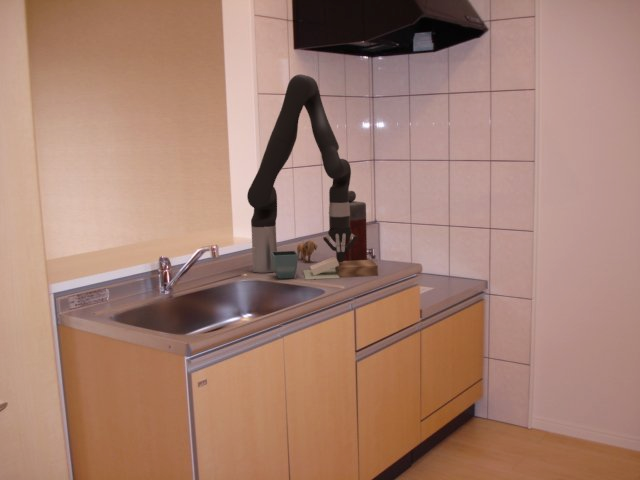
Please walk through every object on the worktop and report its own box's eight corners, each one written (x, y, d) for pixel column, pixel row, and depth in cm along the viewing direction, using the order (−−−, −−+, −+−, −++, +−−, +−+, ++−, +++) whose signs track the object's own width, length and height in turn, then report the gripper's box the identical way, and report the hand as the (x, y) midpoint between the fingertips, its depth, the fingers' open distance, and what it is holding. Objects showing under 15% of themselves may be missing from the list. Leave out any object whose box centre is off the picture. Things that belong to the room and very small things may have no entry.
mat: (305, 279, 255) (305, 279, 254) (303, 271, 270) (302, 270, 270) (339, 278, 256) (339, 277, 255) (334, 269, 271) (334, 268, 271)
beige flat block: (313, 275, 260) (311, 269, 259) (312, 272, 266) (309, 266, 265) (339, 265, 260) (336, 259, 259) (337, 262, 266) (335, 256, 265)
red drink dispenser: (349, 256, 297) (348, 189, 292) (367, 260, 288) (366, 190, 283) (332, 259, 291) (330, 190, 287) (349, 263, 283) (348, 192, 278)
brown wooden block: (338, 277, 257) (338, 267, 257) (335, 270, 269) (335, 261, 269) (377, 275, 259) (377, 265, 258) (372, 268, 270) (372, 259, 270)
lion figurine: (319, 262, 286) (319, 240, 285) (308, 264, 284) (307, 241, 282) (300, 257, 299) (299, 236, 297) (289, 259, 296) (288, 237, 294)
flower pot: (295, 274, 265) (294, 250, 263) (299, 279, 256) (298, 254, 255) (271, 275, 263) (271, 251, 262) (274, 280, 255) (273, 255, 253)
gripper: (322, 216, 256) (323, 264, 259) (359, 215, 257) (360, 262, 260) (320, 214, 263) (321, 260, 266) (356, 212, 264) (357, 259, 267)
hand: (340, 261), depth 263 cm, fingers closed
